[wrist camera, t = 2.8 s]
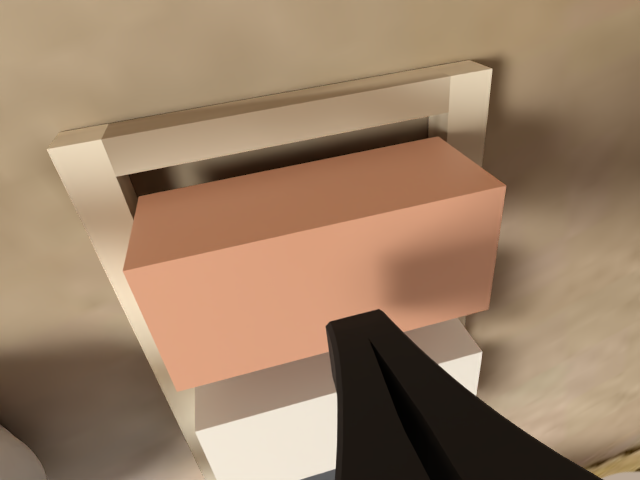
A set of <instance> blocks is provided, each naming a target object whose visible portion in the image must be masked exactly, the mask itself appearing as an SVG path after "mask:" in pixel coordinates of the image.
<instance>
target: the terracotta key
mask: <svg viewBox="0 0 640 480" xmlns="http://www.w3.org/2000/svg"><path fill="white" fill-rule="evenodd" d="M505 192H506V185H505V184H503V183H502V182H501V181H499V180H498V179H497V178H495V177H494V176H492V175H491V174H490V173H488V172H487V171H485V170H484V169H483V168H481V167H480V166H479V165H477V164H476V163H474V162H473V161H472V160H470V159H469V158H467V157H466V156H465V155H463V154H462V153H461V152H459V151H458V150H456V149H455V148H454V147H452V146H451V145H450V144H448V143H447V142H445V141H444V140H443V139H441V138H440V137H438V136H437V137H432V138H427V139H422V140H417V141H412V142H407V143H402V144H397V145H392V146H387V147H382V148H377V149H372V150H367V151H362V152H358V153H353V154H348V155H343V156H338V157H333V158H328V159H323V160H318V161H313V162H308V163H303V164H298V165H293V166H288V167H283V168H278V169H273V170H268V171H263V172H258V173H253V174H248V175H243V176H238V177H233V178H228V179H223V180H218V181H213V182H208V183H203V184H198V185H193V186H188V187H183V188H178V189H173V190H168V191H163V192H158V193H153V194H148V195H143V196H139V198H138V203H137V207H136V212H135V217H134V221H133V226H132V230H131V235H130V240H129V244H128V249H127V253H126V258H125V263H124V267H123V273H124V275H125V278H126V280H127V282H128V284H129V287H130V289H131V291H132V293H133V295H134V298H135V300H136V302H137V304H138V306H139V309H140V311H141V313H142V315H143V318H144V320H145V322H146V324H147V326H148V329H149V331H150V333H151V335H152V338H153V340H154V342H155V344H156V346H157V349H158V351H159V353H160V355H161V358H162V360H163V362H164V364H165V366H166V369H167V371H168V373H169V375H170V378H171V380H172V382H173V384H174V386H175V389H176V391H177V392H179V391H183V390H186V389H190V388H194V387H198V386H201V385H205V384H209V383H213V382H217V381H220V380H224V379H228V378H232V377H235V376H239V375H243V374H247V373H251V372H254V371H258V370H262V369H266V368H269V367H273V366H277V365H281V364H285V363H288V362H292V361H296V360H300V359H303V358H307V357H311V356H315V355H319V354H322V353H326V352H329V348H328V341H327V334H326V327H325V326H326V325H327V324H328V323H329V322H330V321H334V320H337V319H341V318H345V317H349V316H353V315H357V314H361V313H365V312H369V311H373V310H377V309H380V310H382V311H383V312H384V313H385V314H386V315H387V316H388V317H389V318H390V319H391V320H392V321H393V322H394V323H395V324H396V325H397V326H398V327H399V328H400V329H401V330H402V331H403V332H405V331H409V330H413V329H417V328H420V327H424V326H428V325H432V324H436V323H439V322H443V321H447V320H451V319H454V318H458V317H462V316H466V315H470V314H473V313H477V312H481V311H485V310H488V309H489V303H490V296H491V289H492V282H493V276H494V269H495V262H496V255H497V248H498V241H499V234H500V227H501V220H502V213H503V206H504V199H505Z"/></svg>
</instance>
